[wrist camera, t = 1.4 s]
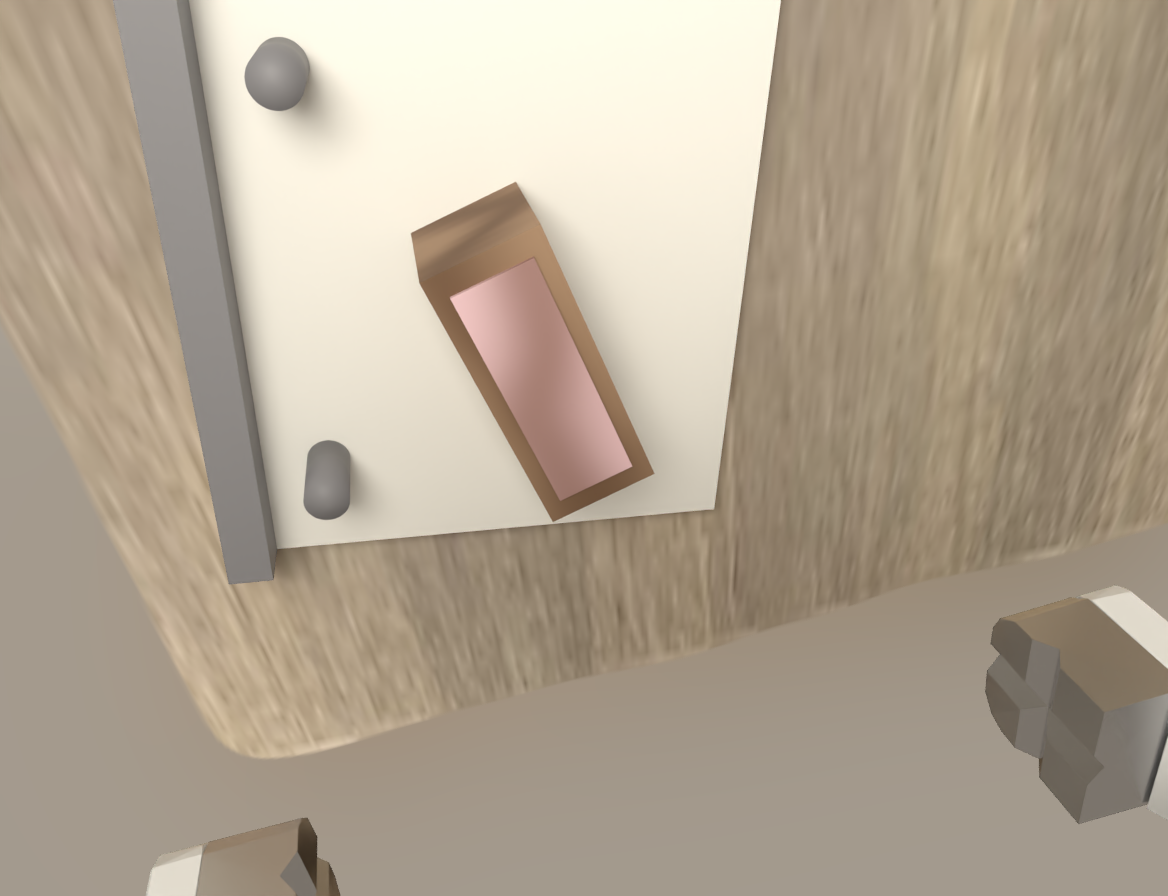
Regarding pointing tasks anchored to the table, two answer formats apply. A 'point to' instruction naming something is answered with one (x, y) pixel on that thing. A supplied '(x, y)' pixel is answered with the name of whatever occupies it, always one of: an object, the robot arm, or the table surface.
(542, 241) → the wooden block
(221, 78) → the board
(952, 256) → the table surface
